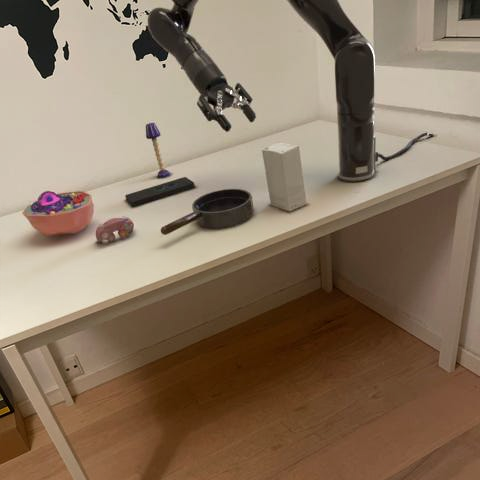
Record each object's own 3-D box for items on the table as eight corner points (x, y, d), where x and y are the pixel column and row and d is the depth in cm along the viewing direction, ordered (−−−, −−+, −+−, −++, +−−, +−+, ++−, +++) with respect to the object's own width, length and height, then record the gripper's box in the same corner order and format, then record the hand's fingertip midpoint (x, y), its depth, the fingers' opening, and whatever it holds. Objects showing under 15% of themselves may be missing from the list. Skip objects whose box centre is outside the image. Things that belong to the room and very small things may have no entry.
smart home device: (194, 182, 144) (131, 202, 138) (195, 187, 145) (133, 207, 139) (185, 176, 150) (124, 194, 145) (186, 181, 151) (126, 200, 146)
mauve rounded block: (101, 251, 121) (96, 232, 115) (95, 239, 123) (89, 220, 117) (138, 238, 124) (135, 220, 118) (131, 226, 126) (128, 207, 120)
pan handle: (198, 216, 118) (197, 208, 117) (203, 217, 117) (202, 210, 116) (160, 235, 113) (157, 227, 111) (164, 237, 111) (162, 229, 110)
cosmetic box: (306, 205, 121) (302, 145, 112) (288, 213, 119) (281, 152, 110) (286, 197, 127) (280, 140, 119) (268, 205, 125) (260, 147, 116)
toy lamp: (154, 178, 159) (140, 126, 149) (160, 173, 162) (147, 122, 153) (166, 178, 157) (153, 125, 148) (173, 172, 160) (160, 121, 151)
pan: (227, 201, 132) (224, 185, 129) (266, 211, 122) (263, 194, 119) (184, 222, 124) (180, 205, 122) (222, 234, 114) (218, 217, 112)
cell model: (70, 250, 121) (53, 208, 115) (22, 241, 131) (4, 202, 125) (116, 221, 132) (103, 182, 126) (68, 215, 142) (54, 178, 136)
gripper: (186, 69, 115) (226, 122, 114) (230, 56, 122) (267, 106, 121) (178, 92, 121) (216, 142, 120) (220, 79, 128) (255, 126, 127)
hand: (241, 124), depth 121 cm, fingers open, 8 cm apart
